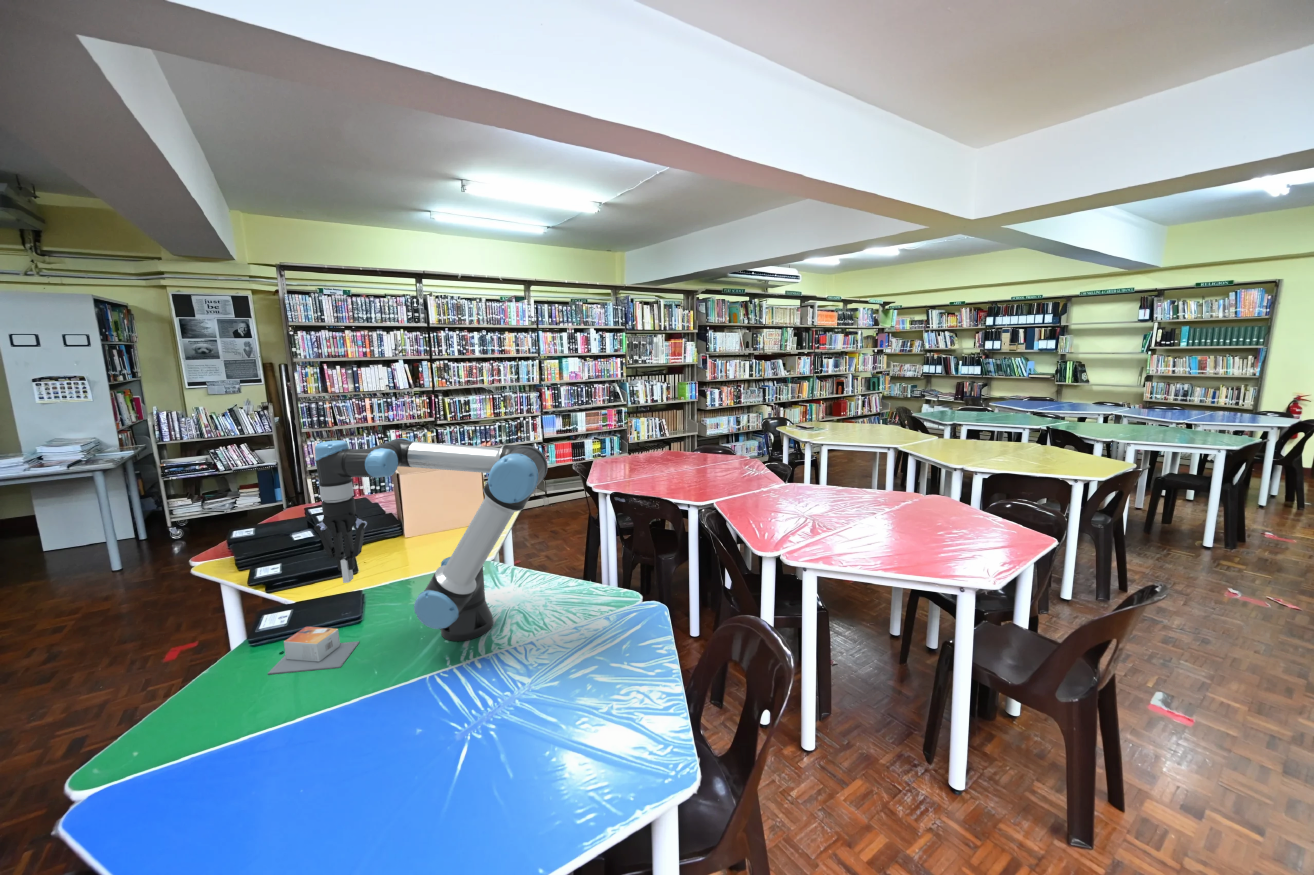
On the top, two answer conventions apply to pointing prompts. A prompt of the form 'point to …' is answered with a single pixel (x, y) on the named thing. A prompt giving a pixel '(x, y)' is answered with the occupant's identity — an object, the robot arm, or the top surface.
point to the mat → (328, 662)
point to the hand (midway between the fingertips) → (348, 580)
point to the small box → (312, 644)
